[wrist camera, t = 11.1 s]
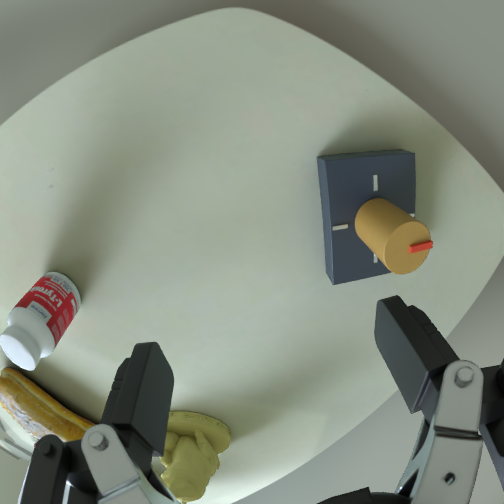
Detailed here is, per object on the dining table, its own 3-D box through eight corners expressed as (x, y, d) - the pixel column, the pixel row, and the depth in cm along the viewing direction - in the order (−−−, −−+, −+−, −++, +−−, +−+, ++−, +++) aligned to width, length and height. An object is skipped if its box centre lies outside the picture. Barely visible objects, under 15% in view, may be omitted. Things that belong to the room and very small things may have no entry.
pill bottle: (82, 278, 29) (35, 343, 19) (83, 318, 31) (47, 384, 21) (39, 263, 27) (-13, 319, 18) (43, 304, 30) (2, 361, 20)
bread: (103, 446, 47) (96, 475, 40) (2, 381, 38) (-13, 407, 31) (127, 432, 43) (120, 467, 36) (7, 354, 34) (-12, 385, 27)
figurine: (132, 413, 40) (116, 490, 26) (214, 405, 39) (212, 495, 26) (170, 450, 46) (165, 514, 33) (241, 444, 45) (245, 514, 32)
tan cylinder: (355, 247, 26) (384, 282, 20) (352, 202, 24) (385, 228, 18) (396, 238, 26) (430, 269, 20) (395, 194, 24) (434, 218, 18)
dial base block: (316, 156, 25) (325, 161, 22) (401, 149, 25) (416, 153, 22) (326, 272, 30) (333, 286, 28) (400, 257, 30) (411, 268, 27)
